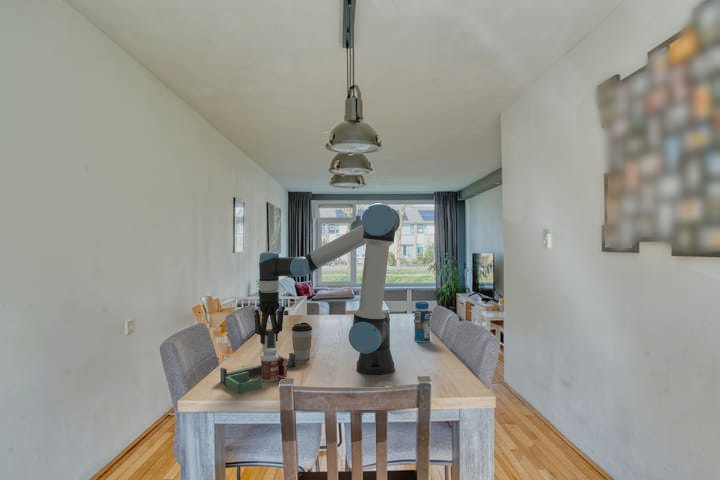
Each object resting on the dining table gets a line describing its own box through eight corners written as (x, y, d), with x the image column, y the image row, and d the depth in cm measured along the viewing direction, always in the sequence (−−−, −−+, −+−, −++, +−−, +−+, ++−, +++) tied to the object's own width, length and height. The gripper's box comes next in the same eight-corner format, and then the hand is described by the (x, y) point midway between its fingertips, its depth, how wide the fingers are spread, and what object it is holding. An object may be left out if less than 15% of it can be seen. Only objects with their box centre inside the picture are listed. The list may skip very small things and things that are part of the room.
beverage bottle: (412, 339, 205) (412, 301, 205) (427, 338, 206) (427, 301, 206) (416, 343, 196) (416, 303, 197) (432, 342, 197) (432, 303, 198)
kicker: (292, 375, 146) (292, 333, 146) (278, 379, 142) (278, 336, 142) (273, 367, 156) (274, 328, 156) (260, 370, 151) (260, 330, 152)
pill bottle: (272, 383, 139) (272, 352, 139) (257, 381, 141) (258, 350, 142) (281, 377, 145) (281, 348, 145) (267, 375, 147) (268, 346, 147)
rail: (295, 366, 159) (295, 354, 159) (223, 384, 139) (223, 369, 139) (291, 364, 161) (291, 352, 161) (220, 381, 141) (220, 368, 141)
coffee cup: (308, 361, 166) (308, 326, 166) (288, 360, 168) (288, 325, 168) (314, 355, 175) (314, 322, 175) (295, 354, 176) (295, 321, 177)
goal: (261, 387, 135) (261, 378, 135) (238, 393, 129) (238, 384, 129) (247, 379, 143) (247, 371, 143) (224, 385, 137) (225, 376, 137)
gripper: (282, 289, 161) (282, 345, 161) (245, 292, 150) (245, 352, 150) (291, 290, 156) (291, 349, 155) (254, 293, 145) (254, 356, 144)
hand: (269, 350), depth 153 cm, fingers closed on kicker, 3 cm apart
